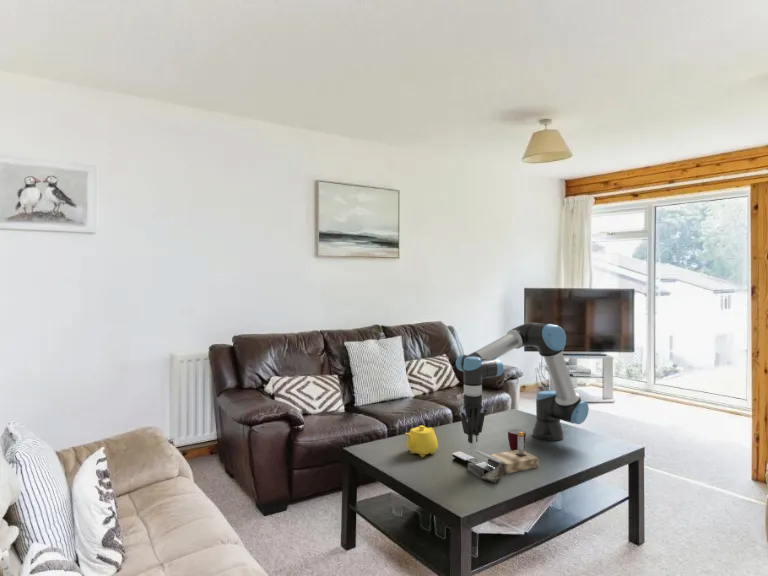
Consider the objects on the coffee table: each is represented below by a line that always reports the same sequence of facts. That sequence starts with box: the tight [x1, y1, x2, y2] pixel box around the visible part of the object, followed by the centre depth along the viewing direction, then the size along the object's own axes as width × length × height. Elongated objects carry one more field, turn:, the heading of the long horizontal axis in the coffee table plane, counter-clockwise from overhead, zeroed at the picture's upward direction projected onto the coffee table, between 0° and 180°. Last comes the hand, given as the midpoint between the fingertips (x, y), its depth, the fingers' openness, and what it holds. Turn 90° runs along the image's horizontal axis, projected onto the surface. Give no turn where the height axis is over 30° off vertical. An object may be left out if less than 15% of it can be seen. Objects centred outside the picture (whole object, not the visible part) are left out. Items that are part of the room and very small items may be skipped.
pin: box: [518, 432, 525, 457], centre depth 220 cm, size 3×3×14 cm
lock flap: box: [473, 449, 505, 465], centre depth 213 cm, size 1×10×13 cm
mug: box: [507, 428, 527, 451], centre depth 233 cm, size 10×8×10 cm
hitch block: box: [467, 450, 539, 479], centre depth 216 cm, size 30×12×4 cm, turn 115°
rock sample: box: [481, 464, 504, 484], centre depth 204 cm, size 10×8×9 cm
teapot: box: [404, 425, 439, 458], centre depth 234 cm, size 14×20×13 cm
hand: (472, 450), depth 210 cm, fingers closed
